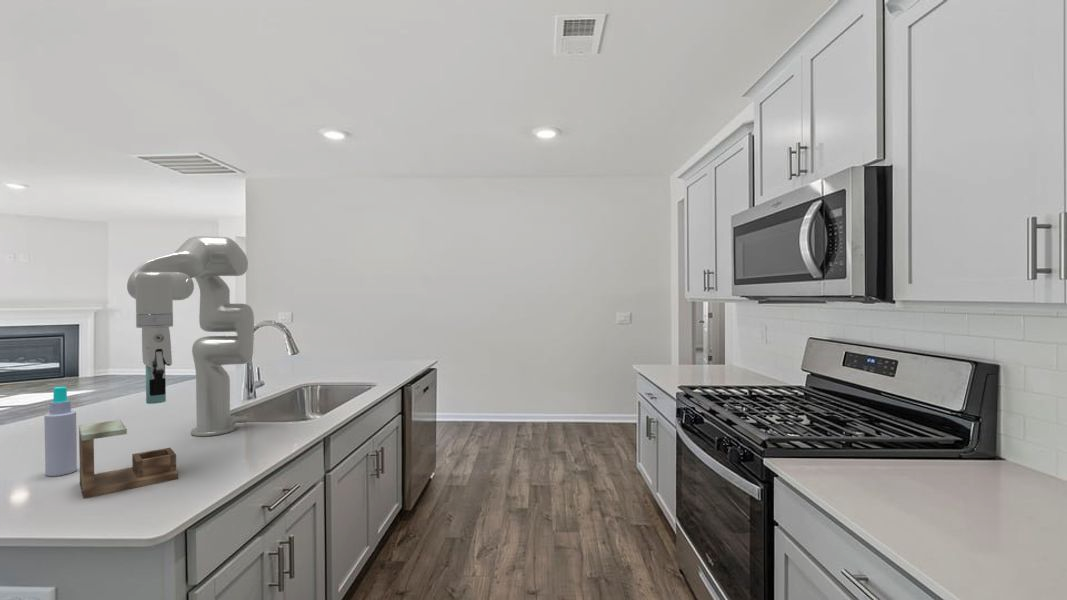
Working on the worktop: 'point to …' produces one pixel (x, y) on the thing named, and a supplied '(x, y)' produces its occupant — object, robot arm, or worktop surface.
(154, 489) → the worktop surface
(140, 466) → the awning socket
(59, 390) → the spray bottle
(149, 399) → the peg
